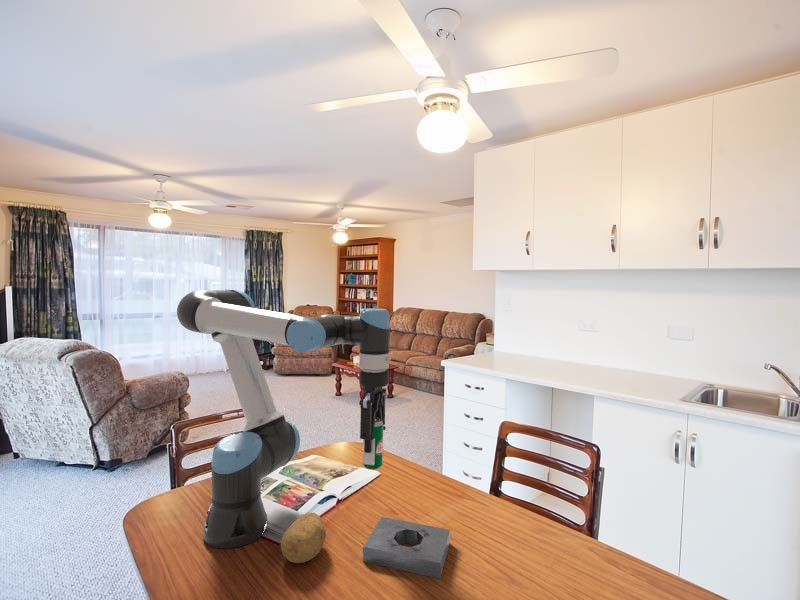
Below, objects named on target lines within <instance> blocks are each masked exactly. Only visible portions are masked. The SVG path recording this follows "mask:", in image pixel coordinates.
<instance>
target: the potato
mask: <svg viewBox="0 0 800 600" xmlns="http://www.w3.org/2000/svg"><path fill="white" fill-rule="evenodd" d="M326 534H327V533H326V529H325V525H324V522H323V520H322V518H321V516H320V515H319V514H317V513H315V512H305V513H303V514H301V515H299V516H298V518H296V519H295V520H294V521H293V522H292V524H291V525H290V526H289V527H288V528H287V529H286V531H285V532H284V533H283V536H282V538H281V539H280V548H281V552H282V556H283V557H284V558H285V559H287V561H288V562H290V563H293V564H304V563H307V562H308V561H311V560H312V559H313V558H315V557H317V555H318V554H319V553H320V552H321V549H322V548H323V546H324V543H325V542H326V541H325V540H326V536H327V535H326Z"/></svg>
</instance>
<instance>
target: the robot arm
mask: <svg viewBox="0 0 800 600" xmlns="http://www.w3.org/2000/svg"><path fill="white" fill-rule="evenodd" d="M176 316H177V319H178V321H179V323H180V325H181V326H182V327H184V328H185V329H186V330H188V331H190V332H193V333H200V334H206V335H211V337H212V340H213V341H214V342H215V343H218V344H220V347H221V349H222V352H223V356H224V358H225V362H226V364H227V368H228V371H229V374H230V376H231V380H232V382H233V386H234V388H235V391H236V394H237V397H238V400H239V403H240V406H241V409H242V413H243V416H244V418H245V421H246V424H245V426H244V427H243V430H242V431H243V432H238V433H233V434H230V435H227V436H225V437H223V438H222V439H220V440H219V441H218V442H217V443H216V444H215V446H214V447H213V450H212V458H211V462H210V465H211V506H210V508H209V511H208V514H207V517H206V519H205V522H204V525H203V539H204V542H205V543H206V544H207V545H209V546H211V547H213V548H216V549H233V548H239V547H242V546H246V545H249V544H251V543H253V542H255V541H257V540H258V539H259V538H261V537H262V536H263V535H262V533H263V531H264V526H265V524H266V521H267V522H268V514H267V512H266V510H265V506H264V502H263V500H262V496H261V493H262V491H261V489H262V488H261V487H262V480H263V479H265V477H267V476H269V475H270V474H272V473H273V472H274V471H277V470H279V469H280V468H282V467H284V466H286V465H287V464H288V463H289V462H291V460H293V459H294V458H295V457H296V456H297V454H298V452H299V450H300V447H301V446H300V445H301V437H300V436H301V434H300V432H299V430H298V428H297V427H296V425H295V424H292V422H291V421H288V420H286V416H285V415H284V413H282V412H280V411H278V410H277V409H276V406H275V401H274V398H273V396H272V394H271V390H270V388H269V385H268V382H267V380H266V379H267V378H266V375H265V373H264V370H263V368H262V364H261V361H260V359H259V356H258V355H259V354H258V353H257V349H256V347H255V344H254V341H253V340H257V341H261V342H268V343H274V344H279V345H284V346H289V347H291V348H292V350H294V351H295V352H298V353H312V352H315V351H318V350H322V349H325V348H330V347H333V346H334V347H335V346H337V345H354V346H359V358H358V361H359V365H358V367H359V368H360V370H359V372H358V373H359V375H358V381H359V382H358V383H359V385H360V386H362V387H364V388H365V391H364V394H363V398H361V399H360V400H359V406H360V423H359V425H360V427H359V431H360V432H359V434H360V435H359V439H360V440H363V439H364V452H363V451H362V465H363V464H367V465H374V464H375V438H374V427H375V417H376V418H380V419H382V422H383V431H386V428H387V426H385V425H386V396H387V395H386V394H387V393H386V392H387V388H385V387H386V386H388V385H389V383H390V379H389V378H390V371H389V370H388V369H389V366H390V361H391V360H392V358H391V357H390V337H391V335H390V331H391V324H390V323H391V322H390V312H389V310H387V309H385V308H371V307H370V308H362V309H360V313H359V315H348V314H347V315H346V314H345V315H344V314H336V313H332V314H331V313H328V314H322V315H320V316H319V317H310V316H306V315H305V316H304V315H298V314H291V313H286V312H279V311H272V310H268V309H261V308H256V306H255V303H254V300H253V299H252V298H251V296H250V295H248V294H247V293H245V292H243V291H240V290H234V289H230V288H229V289H225V290H224V289H220V290H219V289H216V290H213V289H211V290H210V289H207V290H206V289H199V290H194V291H193V290H192V291H191V292H189V293H187V294H186V295H184V296H183V297H182V298H181V299H180V301H179V303H178V304H177V309H176Z"/></svg>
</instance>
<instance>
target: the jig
mask: <svg viewBox="0 0 800 600" xmlns="http://www.w3.org/2000/svg"><path fill="white" fill-rule="evenodd" d="M405 544H409V545H413V546H407V545H405ZM450 544H451V529H448V528H444V527H443V528H442V527H438V526H432V525H429V524H428V525H426V524H423V523H422V524H421V523H418V522H411V521H406V520H400V519H395V518H390V517H386V516H380V518H379V520H378V521H377V523H376V524H375V526H374V528H373V530H372V532H371V533H370V534H369V537H368V538H367V540H366V542H365V543H364V545H363V547H362V548H363V549H362V550H363V551H362V562H364V563H367V564H372V565H377V566H382V567H385V568H390V569H394V570H399V571H404V572H408V573H412V574H417V575H422V576H426V577H430V578H435V579H441V577H442V574H443V569H444V566H445V562H446V559H447V555H448V552H449V547H450Z"/></svg>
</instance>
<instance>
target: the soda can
mask: <svg viewBox="0 0 800 600" xmlns="http://www.w3.org/2000/svg"><path fill="white" fill-rule="evenodd" d="M383 426H384V425H383V422H382V419H380V418H376V417H375V427H374V438H375V464H374V465H367V464H363V463H362V465H363V467H364V468H365V469H368V470H378V469H380V468H381V467H383V465H384V464H383V462H384V461H383V460H384V458H383V457H384V454H383V453H384V430H383ZM362 443H363V444H362V453H363V452H364V439H362Z"/></svg>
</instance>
